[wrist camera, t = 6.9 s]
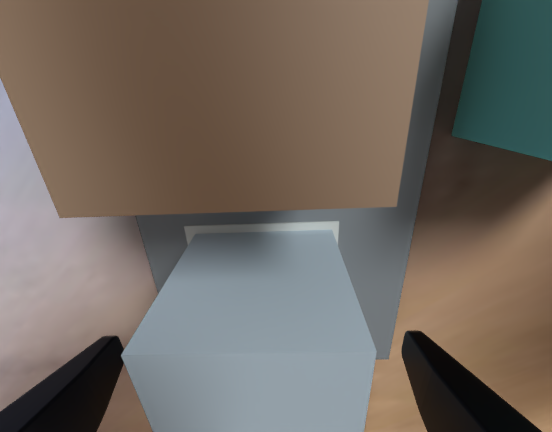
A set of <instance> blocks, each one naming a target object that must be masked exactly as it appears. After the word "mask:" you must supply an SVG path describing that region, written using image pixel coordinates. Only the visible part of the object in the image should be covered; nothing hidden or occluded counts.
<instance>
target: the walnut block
mask: <svg viewBox="0 0 552 432" xmlns="http://www.w3.org/2000/svg"><path fill="white" fill-rule="evenodd" d="M428 3H429V0H0V78H1V80H2V83H3V85H4V87H5V90H6V92H7V94H8V97H9V99H10V102H11V104H12V106H13V109H14V111H15V113H16V116H17V118H18V120H19V123H20V125H21V127H22V130H23V132H24V135H25V137H26V139H27V142H28V144H29V146H30V149H31V151H32V153H33V156H34V158H35V160H36V163H37V165H38V168H39V170H40V172H41V175H42V177H43V179H44V182H45V184H46V186H47V189H48V191H49V193H50V196H51V198H52V201H53V203H54V205H55V208H56V210H57V212H58V215H59V217H60V218H72V217H102V216H133V215H163V214H193V213H224V212H254V211H284V210H315V209H345V208H376V207H396V206H397V200H398V194H399V187H400V181H401V175H402V168H403V162H404V156H405V149H406V143H407V136H408V130H409V124H410V117H411V111H412V105H413V98H414V92H415V85H416V79H417V73H418V66H419V60H420V54H421V47H422V41H423V34H424V28H425V22H426V15H427V9H428Z"/></svg>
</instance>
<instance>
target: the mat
mask: <svg viewBox="0 0 552 432" xmlns="http://www.w3.org/2000/svg"><path fill="white" fill-rule="evenodd" d="M457 3H458V0H429V3H428V9H427V15H426V22H425V28H424V34H423V41H422V47H421V54H420V60H419V66H418V73H417V79H416V85H415V92H414V98H413V105H412V111H411V117H410V124H409V130H408V136H407V143H406V149H405V156H404V162H403V168H402V175H401V181H400V187H399V194H398V200H397V206H396V207H376V208H345V209H315V210H284V211H254V212H224V213H193V214H163V215H135V216H136V219H137V223H138V226H139V229H140V233H141V236H142V240H143V243H144V247H145V250H146V253H147V257H148V260H149V264H150V267H151V271H152V274H153V277H154V281H155V284H156V288H157V291H158V294H159V292H160V291H161V289H162V287H163V286H164V284H165V282H166V281H167V279H168V277H169V276H170V274H171V273H172V271H173V269H174V268H175V266H176V264H177V263H178V261H179V259H180V258H181V256H182V255H183V253H184V251H185V250H186V248H187V246H188V245H189V243H190V241H191V240H192V238H193V237H194V235H195V234H208V233H239V232H269V231H300V230H331V229H332V231H333V234H334V236H335V239H336V242H337V245H338V247H339V250H340V253H341V255H342V258H343V261H344V264H345V266H346V269H347V272H348V275H349V277H350V280H351V283H352V285H353V288H354V291H355V294H356V296H357V299H358V302H359V305H360V307H361V310H362V313H363V315H364V318H365V321H366V324H367V326H368V329H369V332H370V335H371V337H372V340H373V343H374V345H375V348H376V351H377V353H376V359H389V354H390V349H391V344H392V338H393V333H394V328H395V323H396V318H397V313H398V307H399V302H400V297H401V292H402V287H403V282H404V277H405V271H406V266H407V261H408V256H409V251H410V246H411V240H412V235H413V230H414V225H415V220H416V215H417V209H418V204H419V199H420V194H421V189H422V184H423V178H424V173H425V168H426V163H427V158H428V153H429V147H430V142H431V137H432V132H433V127H434V122H435V116H436V111H437V106H438V101H439V96H440V91H441V85H442V80H443V75H444V70H445V65H446V60H447V54H448V49H449V44H450V39H451V34H452V29H453V23H454V18H455V13H456V8H457Z"/></svg>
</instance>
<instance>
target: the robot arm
mask: <svg viewBox="0 0 552 432" xmlns="http://www.w3.org/2000/svg"><path fill="white" fill-rule="evenodd" d="M123 351H124V349H123V347H122V344H121V342H120V339H119V337H117V336H104V337H102V338H100V339H99V340H97V341H96V342H95V343H93V344H92V345H90V346H89V347H88V348H86V349H85V350H84V351H82V352H81V353H80V354H78V355H77V356H76V357H74V358H73V359H71V360H70V361H69V362H67V363H66V364H65V365H63V366H62V367H61V368H59V369H58V370H56V371H55V372H54V373H52V374H51V375H50V376H48V377H47V378H46V379H44V380H43V381H41V382H40V383H39V384H37V385H36V386H35V387H33V388H32V389H31V390H29V391H28V392H26V393H25V394H24V395H22V396H21V397H20V398H18V399H17V400H16V401H14V402H13V403H11V404H10V405H9V406H7V407H6V408H5V409H3V410H2V411H1V412H0V432H97V429H98V427H99V425H100V423H101V421H102V419H103V416H104V414H105V412H106V409H107V407H108V404H109V401H110V399H111V396H112V393H113V391H114V388H115V385H116V383H117V380H118V377H119V375H120V372H121V369H122V367H123V364H124V362H123V359H122V357H121V354H122V353H123ZM402 358H403V361H404V364H405V367H406V371H407V374H408V377H409V380H410V383H411V387H412V390H413V393H414V396H415V400H416V403H417V406H418V409H419V412H420V414H421V417H422V420H423V422H424V425H425V427H426V429H427V432H542V431H541V430H540V429H538V428H537V427H536V426H535V425H534V424H532V423H531V422H530V421H529V420H528V419H526V418H525V417H524V416H523V415H522V414H520V413H519V412H518V411H517V410H516V409H514V408H513V407H512V406H511V405H509V404H508V403H507V402H506V401H505V400H503V399H502V398H501V397H500V396H499V395H497V394H496V393H495V392H494V391H493V390H491V389H490V388H489V387H488V386H487V385H485V384H484V383H483V382H482V381H481V380H479V379H478V378H477V377H476V376H475V375H473V374H472V373H471V372H470V371H469V370H467V369H466V368H465V367H464V366H463V365H461V364H460V363H459V362H458V361H456V360H455V359H454V358H453V357H452V356H450V355H449V354H448V353H447V352H446V351H444V350H443V349H442V348H441V347H440V346H438V345H437V344H436V343H435V342H434V341H432V340H431V339H430V338H429V337H428V336H426V335H425V334H424V333H423V332H421V331H406V333H405V336H404V340H403V345H402Z"/></svg>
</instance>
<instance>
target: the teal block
mask: <svg viewBox="0 0 552 432" xmlns="http://www.w3.org/2000/svg"><path fill="white" fill-rule="evenodd" d="M451 136H454V137H458V138H462V139H466V140H470V141H474V142H478V143H482V144H486V145H490V146H494V147H498V148H502V149H506V150H510V151H514V152H518V153H522V154H526V155H530V156H534V157H538V158H542V159H546V160H550V161H552V0H482V3H481V8H480V12H479V16H478V21H477V25H476V30H475V34H474V38H473V43H472V47H471V52H470V56H469V60H468V65H467V69H466V73H465V78H464V82H463V87H462V91H461V95H460V100H459V104H458V109H457V113H456V117H455V122H454V126H453V131H452V135H451Z"/></svg>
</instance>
